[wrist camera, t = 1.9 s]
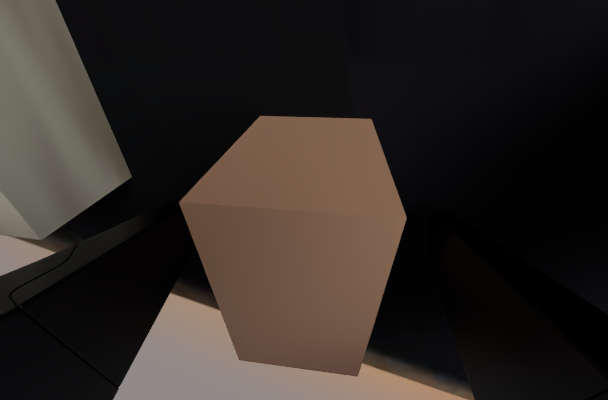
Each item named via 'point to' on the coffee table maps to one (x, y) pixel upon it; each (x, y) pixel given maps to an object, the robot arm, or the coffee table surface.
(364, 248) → the terracotta brick
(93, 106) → the birch block
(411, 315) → the coffee table surface
